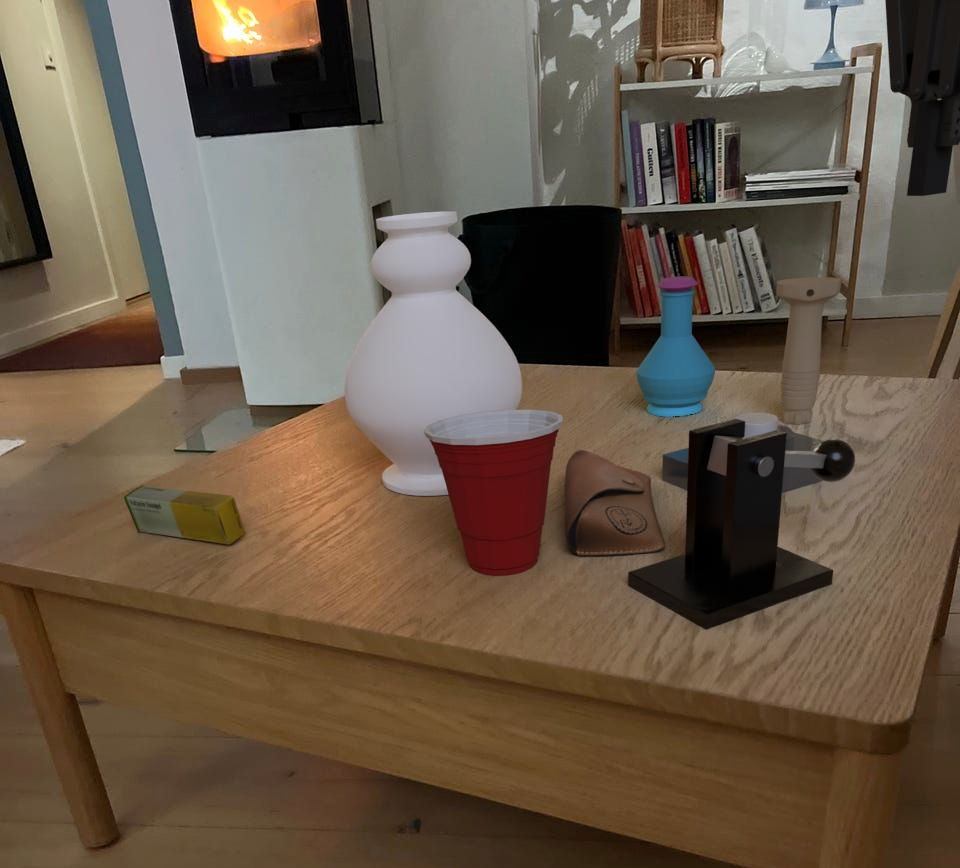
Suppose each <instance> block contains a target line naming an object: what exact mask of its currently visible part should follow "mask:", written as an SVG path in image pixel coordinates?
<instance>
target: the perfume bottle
mask: <svg viewBox="0 0 960 868" xmlns="http://www.w3.org/2000/svg"><path fill="white" fill-rule="evenodd" d="M698 285H699V283H698V282H697V281H696V279H695V278H694V277H692V276H687V275H686V276H685V275H684V276H681V275H679V276H678V275H677V276H668V277H664V278H662V279H661V280H660V281H659V282H658V283H657V284H656V286H657V287H658V288H659V289H661V290H660V291H659V295H660V296H661V308H660V312H661V313H660V314H661V315H660V335H659V337H658V339H657V340H656V342H655V343H654V344H653V346H652V348H651V349H650V351H649V352H648V354H647V355H646V356H645V357H644V359H643V361H642V362H641V363H640V365H639V366H638V368H636V380H637V384H638V387H639V389H640V391H641V393H642V399H644V401H646V402H647V403H648V405H647V407H646V412H647V413H649V414H651V415H653V416H658V417H666V418H676V417H675V416H680V417H685V416H684V415H688V416H691V415H690V414H693V415H695V413H696V414H699V413H700V412H702V411H703V404H702V401H703V400H705V399H706V398H707V396H708V393H709V390H710V388H711V386H712V384H713V381H714V379H715V373H716V367H715V365H714V364H713V362H712V360H711V359H710V358H709V357H708V355H707V354H706V352H705V351H704V350H703V349H702V347H701V345H700V344H699V343H698V341H697V340H696V338H695V336H694V335H693V306H694V295H695V293H696V292H695V291H696V290H695V288H694V287H696V286H698ZM698 412H699V413H698ZM673 416H674V417H673Z"/></svg>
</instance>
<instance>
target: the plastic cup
mask: <svg viewBox="0 0 960 868" xmlns="http://www.w3.org/2000/svg"><path fill="white" fill-rule="evenodd" d="M563 419H564V418H563V415H562V414H559V413H556V412H554V411H548V410H542V409H541V410H540V409H517V410H498V411H485V412H478V413H471V414H465V415H459V416H455V417H451V418H447V419H443V420H439V421H437V422H435V423H432V424H430V425H428V426H427V427H426V428H425V430H424V433H425V436H426V437H427V438H428V439H430V442H431V444H432V446H433V448H434V451H435V455H437V458H438V462H439V465H440V468H441V469H442V472H443V476H444V480H445V483H446V487H447V491H448V495H447V496H448V498H449V501H450V505H451V509H452V512H453V513H452V514H453V516H454V520H455V523H456V524H455V525H456V527H457V530H458V531H459V534H460V538H461V542H462V546H463V549H464V554H465V557H466V559H467V561H468V564H469V567H470V568H471V569H472V570H473V571H474V572H477V573H479V574H482V575H489V576H496V577H497V576H511V575H515V574H520V573H524V572H526V571H528V570H530V569H532V568H533V567H535V565H536V564H537V563H538V560H539V559H538V558H539V556H540V551H541V542H542V534H543V526H544V525H545V518H546V509H547V501H548V493H549V484H550V483H549V482H550V474H551V465H552V461H553V458H554V449H555V447H556V442H557V441H556V439H557V437H558V433H559V429H560V428H562V426H563V422H564V420H563Z"/></svg>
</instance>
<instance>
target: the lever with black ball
mask: <svg viewBox="0 0 960 868" xmlns="http://www.w3.org/2000/svg"><path fill="white" fill-rule="evenodd" d="M741 439H745V438H744V437H730V436H714V440H713V444H712V449H711V453H710V458H709V462H708V466H707V469H708V470H710V471H713V472H716V473H719V474H722V475H724V476H726V468H727V448H728V443H730V442H734V441H737V440H741ZM822 441H823V442H821V443H820V444H819V445H817V446H816V448H815V449H814V450H813V452H807V451H785V461H784V467H800V468H811V470H812V472H813V473H814V475H815V476H816V477H818V478H819V479H821V480H823V481H822V482H827V483H836V482H839V481H842V480H844V479H845V478H847V477H848V476H849V475H850V474H851V472H852V471H853V469H854V467H855V464H856V454H855V451H854V449H853V448H852V446H851V445H850V444H849V443H848V442H846V441H844V440H842V439H839V438H830V439H825V440H822Z"/></svg>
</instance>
